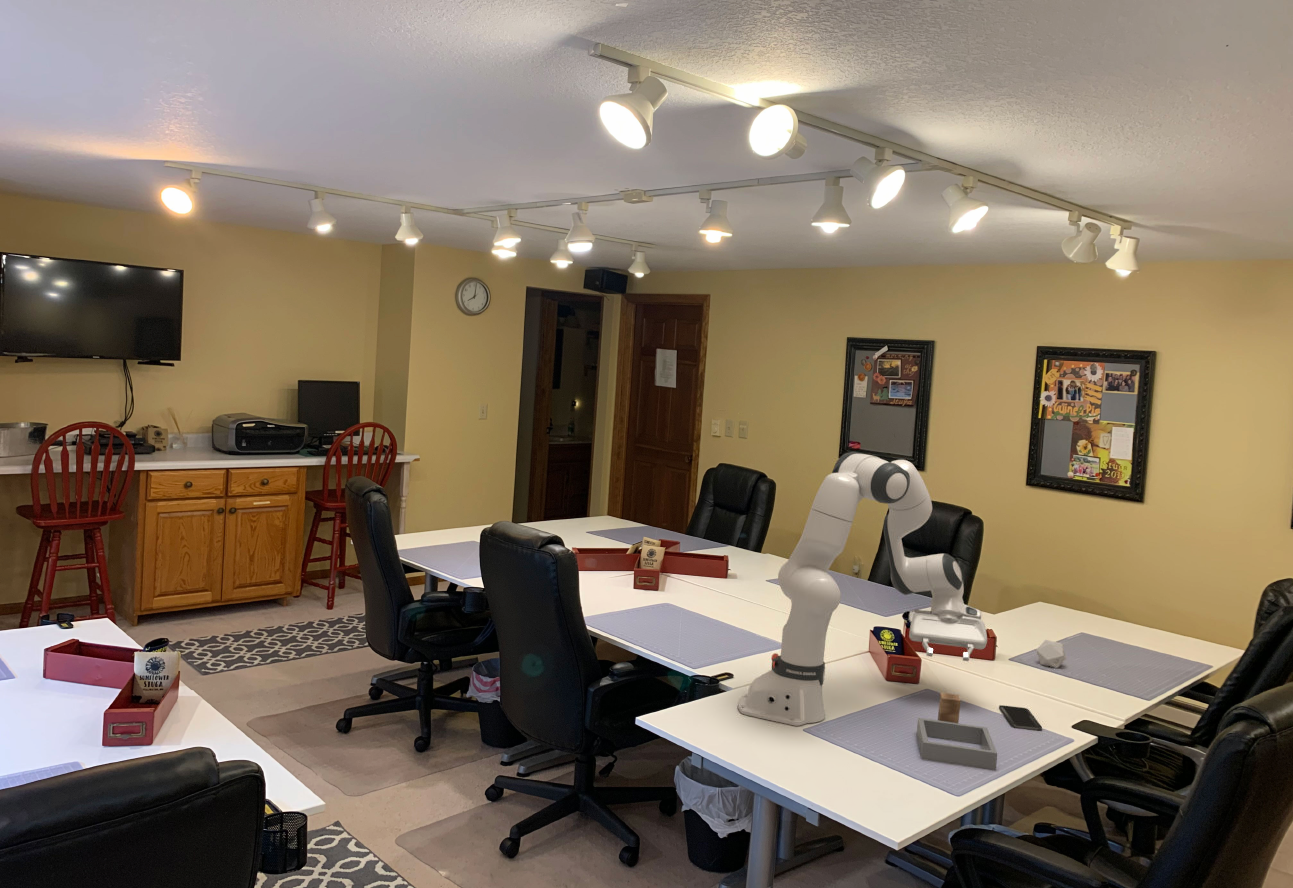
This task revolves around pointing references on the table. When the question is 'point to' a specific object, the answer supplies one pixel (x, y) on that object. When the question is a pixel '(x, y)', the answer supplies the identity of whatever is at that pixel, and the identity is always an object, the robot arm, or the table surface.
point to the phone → (1020, 718)
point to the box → (953, 752)
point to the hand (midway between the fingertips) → (947, 657)
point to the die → (1051, 654)
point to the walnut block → (949, 708)
